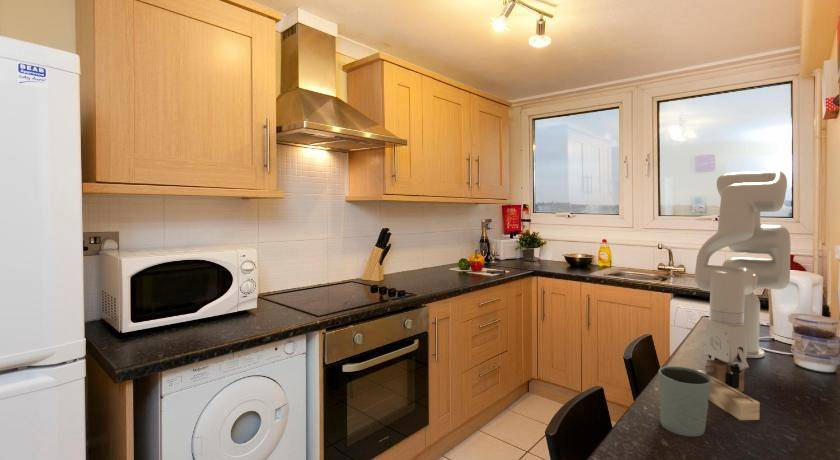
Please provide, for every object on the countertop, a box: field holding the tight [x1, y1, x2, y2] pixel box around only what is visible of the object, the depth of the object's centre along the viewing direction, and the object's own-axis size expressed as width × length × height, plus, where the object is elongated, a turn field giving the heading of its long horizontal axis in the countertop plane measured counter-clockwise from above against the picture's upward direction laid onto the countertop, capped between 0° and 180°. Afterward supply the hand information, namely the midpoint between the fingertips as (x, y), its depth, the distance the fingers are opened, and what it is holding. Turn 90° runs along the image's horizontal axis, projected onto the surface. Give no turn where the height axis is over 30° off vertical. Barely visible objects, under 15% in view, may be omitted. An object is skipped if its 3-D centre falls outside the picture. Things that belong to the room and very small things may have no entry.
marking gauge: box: [705, 359, 746, 393], centre depth 117 cm, size 4×10×7 cm, turn 93°
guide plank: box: [696, 369, 761, 421], centre depth 110 cm, size 20×4×4 cm, turn 2°
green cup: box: [658, 365, 712, 437], centre depth 97 cm, size 10×10×12 cm
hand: (724, 383), depth 118 cm, fingers closed on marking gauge, 4 cm apart
